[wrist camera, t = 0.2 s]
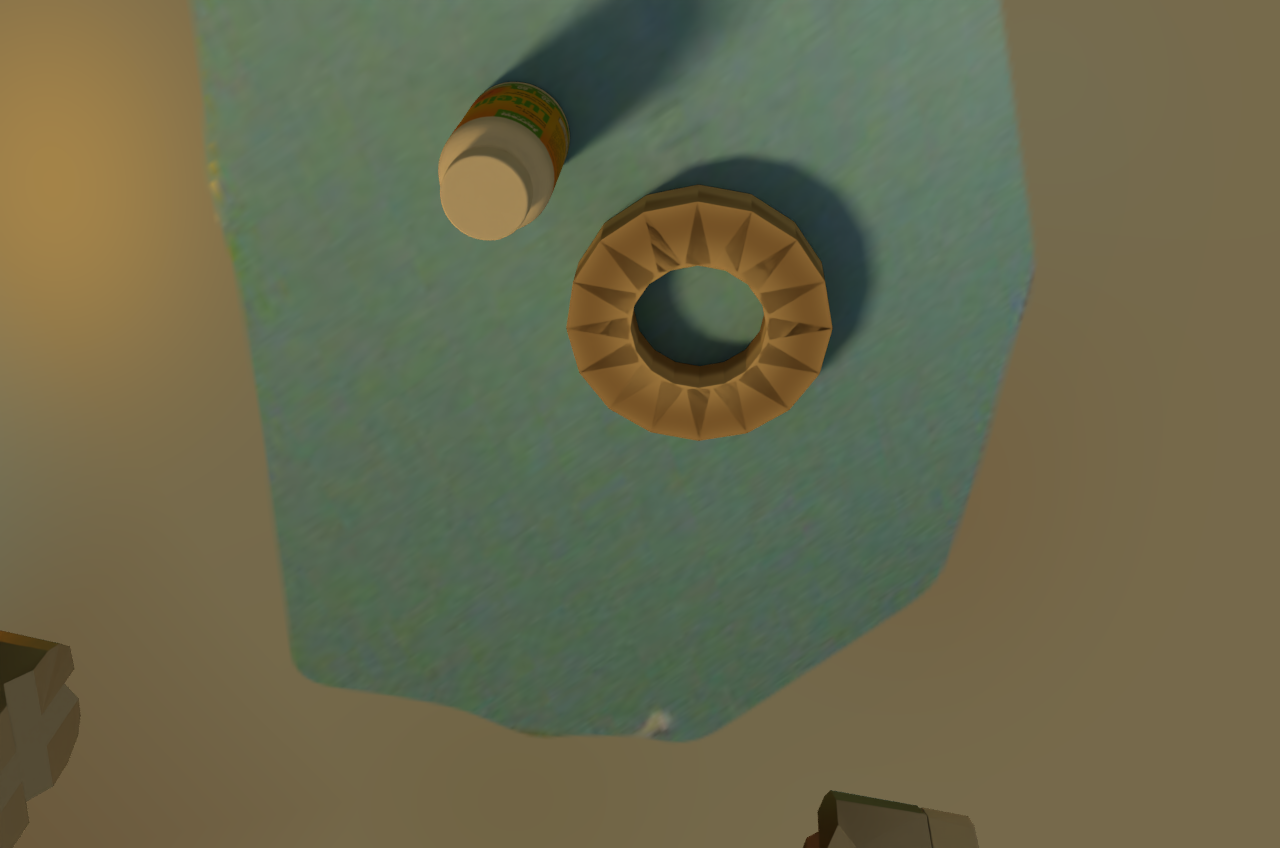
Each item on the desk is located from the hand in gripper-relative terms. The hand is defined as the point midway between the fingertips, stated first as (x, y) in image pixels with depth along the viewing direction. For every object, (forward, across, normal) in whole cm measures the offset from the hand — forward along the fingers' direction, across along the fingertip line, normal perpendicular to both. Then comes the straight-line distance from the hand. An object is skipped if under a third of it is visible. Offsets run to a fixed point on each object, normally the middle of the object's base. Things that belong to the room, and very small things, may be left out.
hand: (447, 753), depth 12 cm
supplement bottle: (+48, +7, +10) cm, 49 cm away
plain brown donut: (+48, -5, +18) cm, 51 cm away
